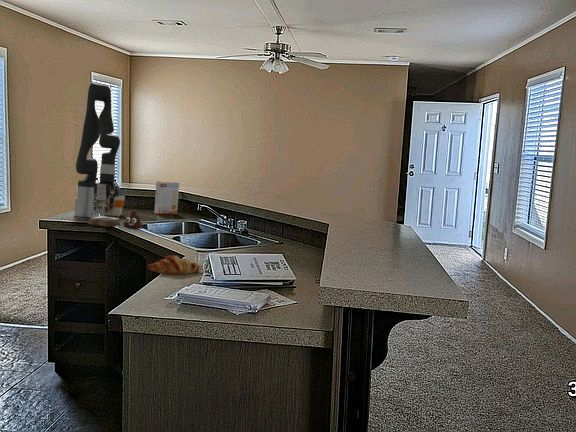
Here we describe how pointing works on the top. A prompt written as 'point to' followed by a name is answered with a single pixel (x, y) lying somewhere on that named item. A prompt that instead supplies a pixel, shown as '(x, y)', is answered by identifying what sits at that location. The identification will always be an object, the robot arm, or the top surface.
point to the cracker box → (166, 197)
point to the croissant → (174, 266)
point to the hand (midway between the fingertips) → (105, 203)
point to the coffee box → (104, 199)
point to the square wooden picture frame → (104, 221)
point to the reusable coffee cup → (119, 203)
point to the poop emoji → (133, 220)
